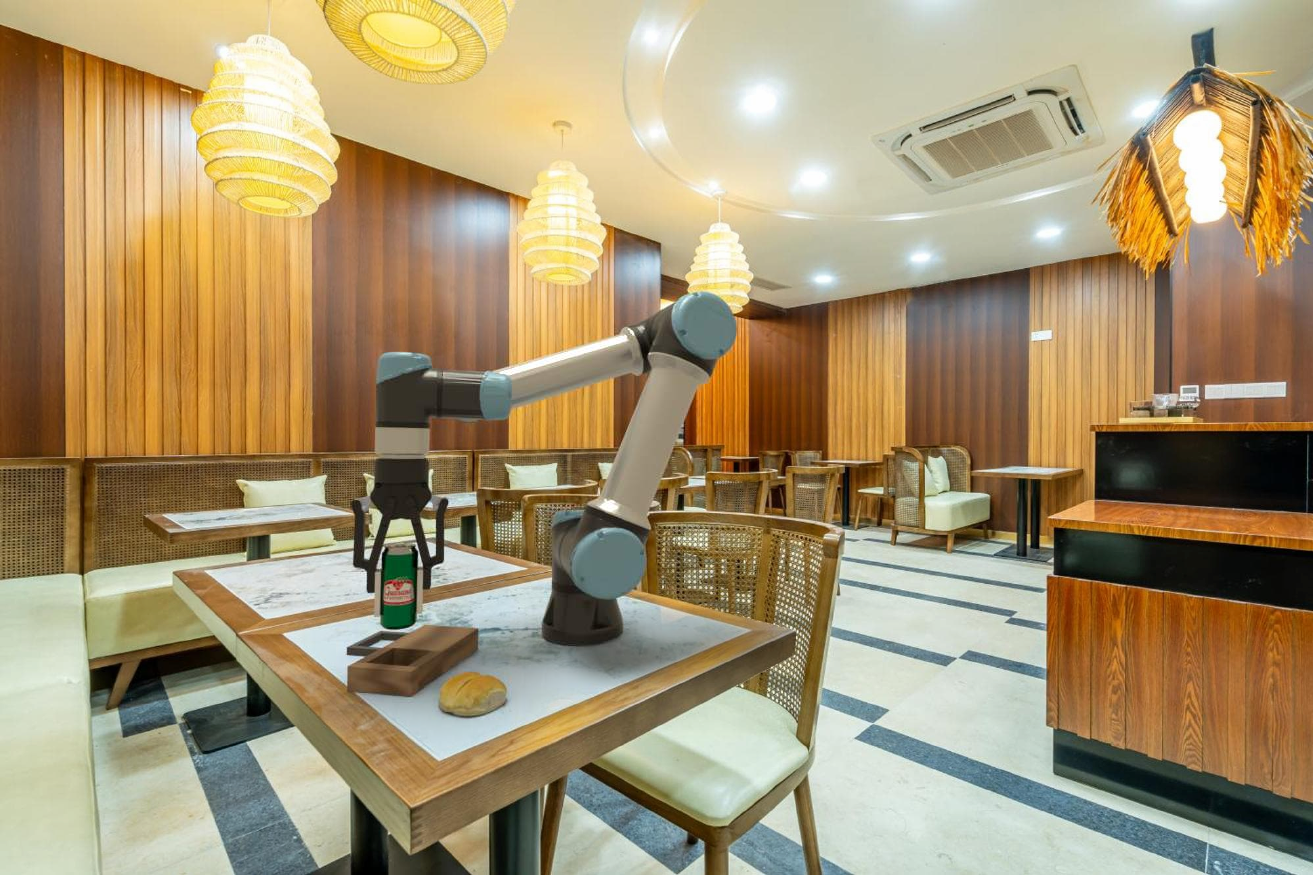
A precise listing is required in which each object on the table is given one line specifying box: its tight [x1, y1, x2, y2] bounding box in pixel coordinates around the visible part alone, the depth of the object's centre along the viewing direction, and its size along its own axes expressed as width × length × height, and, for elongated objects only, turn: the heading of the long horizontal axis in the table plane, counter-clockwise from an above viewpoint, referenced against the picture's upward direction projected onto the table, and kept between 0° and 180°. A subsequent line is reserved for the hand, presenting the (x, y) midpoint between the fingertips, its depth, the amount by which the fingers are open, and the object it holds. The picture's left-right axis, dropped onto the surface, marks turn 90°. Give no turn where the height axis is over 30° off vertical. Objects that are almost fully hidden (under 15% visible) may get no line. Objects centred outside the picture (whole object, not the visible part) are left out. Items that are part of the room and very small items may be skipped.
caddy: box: [346, 624, 479, 698], centre depth 95 cm, size 10×20×4 cm, turn 170°
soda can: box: [379, 542, 419, 631], centre depth 90 cm, size 5×5×12 cm
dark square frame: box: [346, 630, 410, 657], centre depth 104 cm, size 9×9×1 cm
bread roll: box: [438, 671, 508, 717], centre depth 83 cm, size 8×9×4 cm
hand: (398, 612), depth 90 cm, fingers closed on soda can, 5 cm apart
